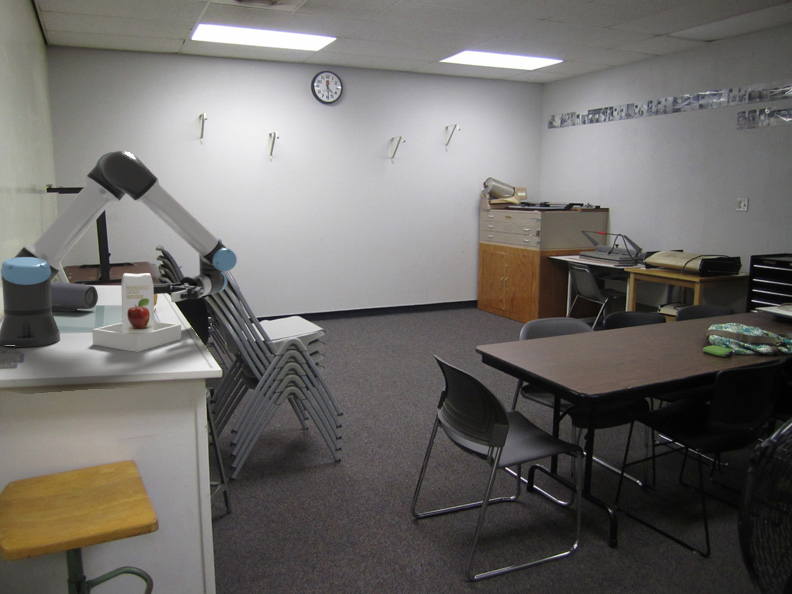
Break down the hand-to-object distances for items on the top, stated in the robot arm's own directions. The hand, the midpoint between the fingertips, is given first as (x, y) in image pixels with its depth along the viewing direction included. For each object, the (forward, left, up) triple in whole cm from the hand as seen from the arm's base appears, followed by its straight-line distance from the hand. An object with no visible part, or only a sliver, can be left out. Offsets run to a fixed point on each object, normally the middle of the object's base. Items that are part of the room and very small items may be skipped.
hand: (152, 295), depth 181 cm
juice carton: (-6, 0, -12) cm, 14 cm away
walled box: (-6, 0, -13) cm, 14 cm away
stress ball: (+32, +33, -13) cm, 48 cm away
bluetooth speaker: (+16, +55, -13) cm, 59 cm away
